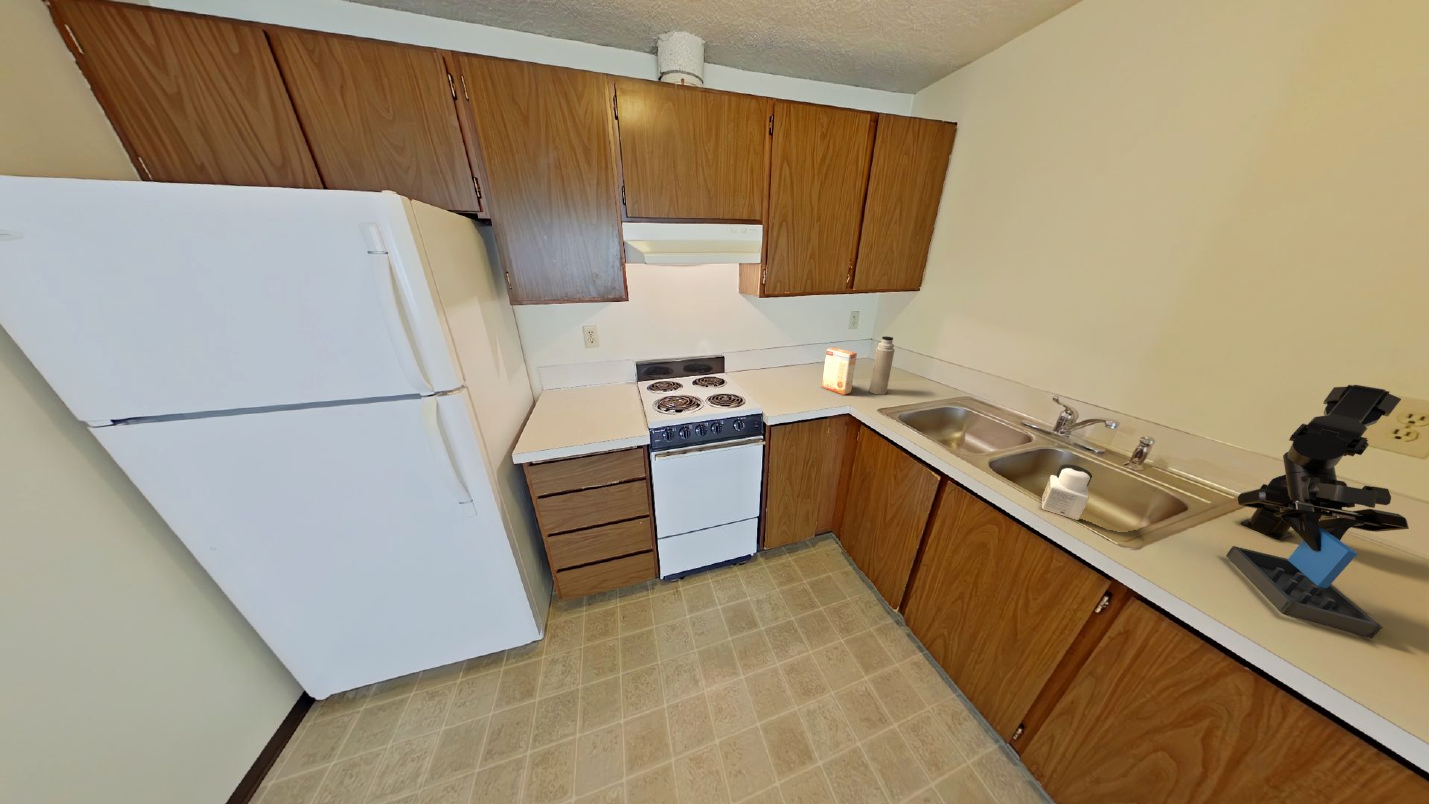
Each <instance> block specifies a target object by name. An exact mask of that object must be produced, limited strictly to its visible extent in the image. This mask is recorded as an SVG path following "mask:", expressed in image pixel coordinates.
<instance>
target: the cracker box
mask: <svg viewBox="0 0 1429 804" xmlns="http://www.w3.org/2000/svg"><path fill="white" fill-rule="evenodd" d="M857 355H858V352H854V351H850V350H846V349H842V348H838V347H835V346H834V347H828V348H826V353H825V359H824V368H823V376H822V384H821V388H824V389H826V390H829V391H831V392H834V393H838V394H840V395H842V396H845V395H848V394H851V393H852V387H853V381H854V375H855V369H856V368H855V367H856V362H857Z"/></svg>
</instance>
